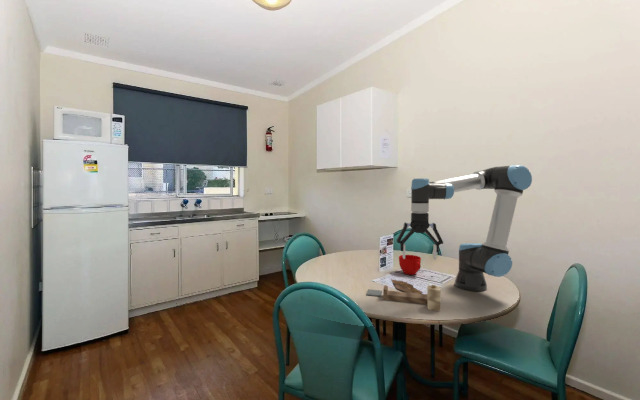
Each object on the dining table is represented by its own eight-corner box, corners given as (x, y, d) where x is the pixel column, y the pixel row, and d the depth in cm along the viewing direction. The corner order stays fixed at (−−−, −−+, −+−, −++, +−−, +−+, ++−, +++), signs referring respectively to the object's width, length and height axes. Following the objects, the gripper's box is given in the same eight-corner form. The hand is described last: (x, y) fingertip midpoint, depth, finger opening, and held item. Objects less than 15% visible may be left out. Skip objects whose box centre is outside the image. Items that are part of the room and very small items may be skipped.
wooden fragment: (426, 295, 142) (426, 293, 142) (405, 297, 140) (405, 295, 140) (402, 279, 167) (402, 277, 167) (384, 280, 165) (384, 279, 165)
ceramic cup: (409, 279, 166) (410, 262, 166) (394, 271, 183) (394, 255, 182) (429, 277, 170) (429, 260, 169) (412, 269, 186) (412, 254, 186)
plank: (436, 300, 135) (436, 290, 135) (437, 305, 130) (437, 294, 129) (384, 294, 143) (384, 285, 142) (383, 299, 137) (383, 289, 137)
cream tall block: (439, 306, 129) (439, 285, 128) (440, 311, 124) (440, 289, 123) (427, 305, 130) (427, 284, 130) (427, 309, 125) (428, 287, 125)
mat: (382, 291, 147) (382, 290, 147) (380, 296, 140) (380, 295, 140) (368, 290, 149) (368, 289, 149) (366, 295, 142) (366, 294, 142)
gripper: (446, 211, 133) (445, 257, 134) (390, 211, 137) (390, 255, 138) (451, 213, 126) (450, 261, 127) (392, 212, 129) (392, 259, 130)
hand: (419, 258), depth 132 cm, fingers open, 13 cm apart
